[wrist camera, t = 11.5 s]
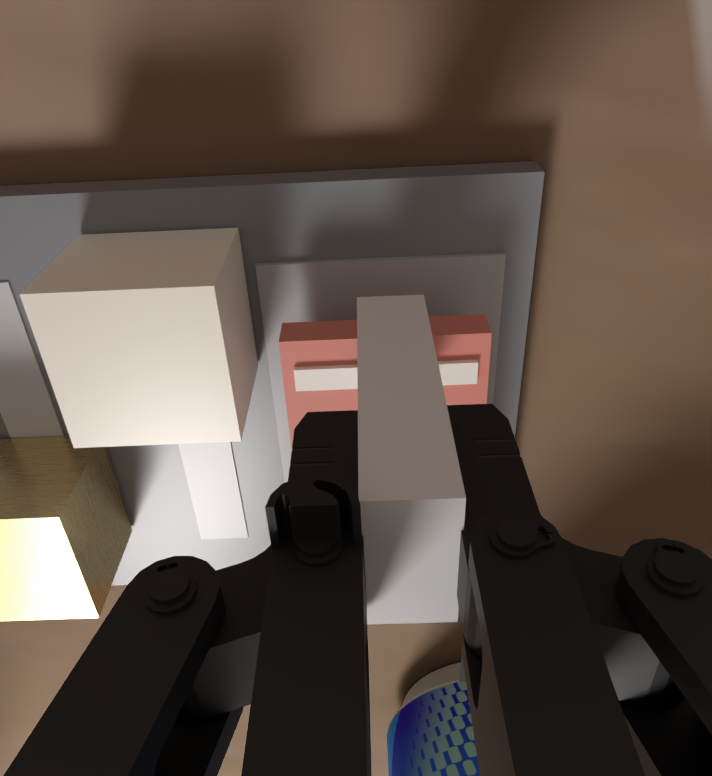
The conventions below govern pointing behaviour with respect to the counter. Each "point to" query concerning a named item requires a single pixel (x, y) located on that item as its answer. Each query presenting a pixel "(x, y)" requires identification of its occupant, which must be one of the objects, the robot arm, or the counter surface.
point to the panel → (274, 310)
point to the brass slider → (58, 529)
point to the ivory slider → (147, 337)
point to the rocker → (339, 363)
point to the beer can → (434, 729)
